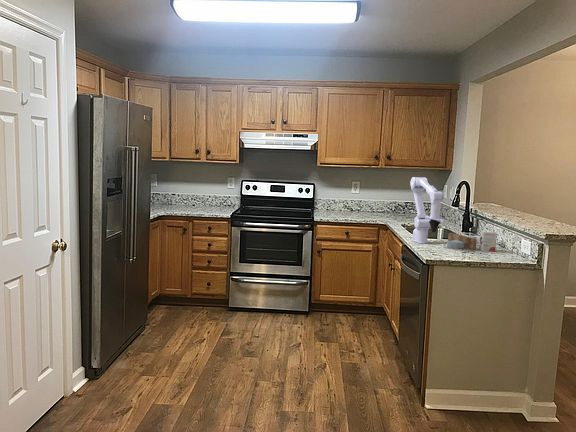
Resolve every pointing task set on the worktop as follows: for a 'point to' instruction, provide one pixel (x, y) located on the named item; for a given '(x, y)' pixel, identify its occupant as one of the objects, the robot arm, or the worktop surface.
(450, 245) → the slate block
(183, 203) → the worktop surface
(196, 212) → the worktop surface
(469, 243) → the walnut board
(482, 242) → the ink box
